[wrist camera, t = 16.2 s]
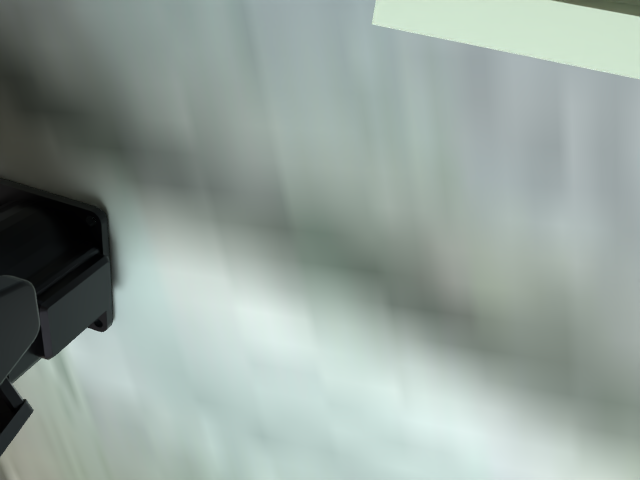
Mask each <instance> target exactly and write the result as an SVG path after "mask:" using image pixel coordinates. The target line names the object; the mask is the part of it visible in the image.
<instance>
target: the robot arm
mask: <svg viewBox="0 0 640 480" xmlns="http://www.w3.org/2000/svg"><path fill="white" fill-rule="evenodd" d="M92 217H94V219H95V220H96V222H95V221H94V219H93V218H92ZM112 322H113V320H112V291H111V272H110V261H109V243H108V223H107V217H106V215H105V213H104V212H103V211H102V210H101V209H99V208H97V207H95V206H91V205H88V204H85V203H81V202H78V201H75V200H71V199H68V198H65V197H61V196H58V195H55V194H51V193H48V192H45V191H41V190H38V189H35V188H31V187H28V186H25V185H21V184H18V183H15V182H12V181H8V180H5V179H2V178H0V456H1V455H2V454H3V452H4V451H5V450H6V448H7V447H8V445H9V444H10V443H11V441H12V440H13V439H14V437H15V436H16V434H17V433H18V432H19V430H20V429H21V428H22V426H23V425H24V423H25V422H26V421H27V419H28V418H29V417H30V415H31V414H32V412H33V411H34V410H33V409H32V407H31V406H30V404H29V403H28V401H27V400H26V399H22V397H21V396H20V394H19V393H18V392H17V390H16V389H15V387H14V386H13V384H12V383H13V382H15V381H16V380H17V379H18V378H19V377H20V376H21V375H23V374H24V373H25V372H26V371H27V370H28V369H30V368H31V367H32V366H33V365H34V364H35V363H36V362H38V361H39V360H40V359H41V358H44V359H47V360H49V359H51V358H52V357H54V356H56V355H57V354H58V353H59V352H60V351H61V350H62V349H63V348H65V347H66V346H67V345H68V344H69V343H70V342H71V341H72V340H74V339H75V338H76V337H77V336H78V335H79V334H80V333H81V332H83V331H84V330H85V329H86V328H87V327H88V328H91V329H93V330H96V331H100V332H104V331H106V330H107V329H108V328H109V327H110V326H111V325H112Z"/></svg>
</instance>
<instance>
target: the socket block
mask: <svg viewBox="0 0 640 480" xmlns="http://www.w3.org/2000/svg"><path fill="white" fill-rule="evenodd" d="M372 24H373V25H378V26H383V27H388V28H393V29H398V30H402V31H407V32H412V33H417V34H422V35H427V36H432V37H437V38H441V39H446V40H451V41H456V42H461V43H466V44H471V45H475V46H480V47H485V48H490V49H495V50H500V51H505V52H510V53H514V54H519V55H524V56H529V57H534V58H539V59H544V60H549V61H553V62H558V63H563V64H568V65H573V66H578V67H583V68H588V69H592V70H597V71H602V72H607V73H612V74H617V75H622V76H627V77H631V78H636V79H640V0H376V3H375V9H374V15H373V20H372Z"/></svg>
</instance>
